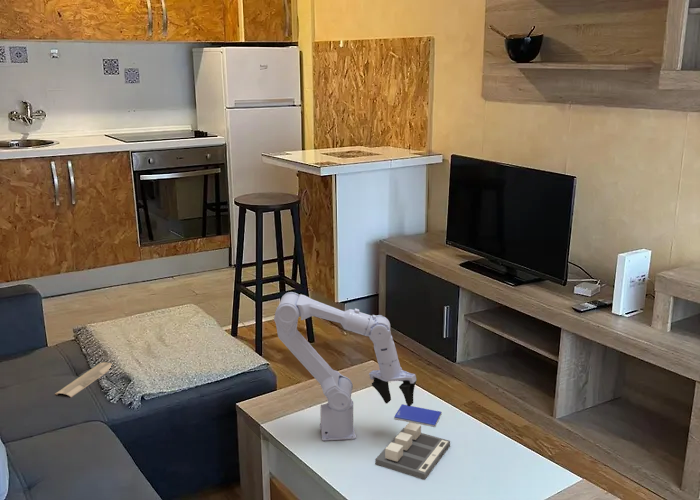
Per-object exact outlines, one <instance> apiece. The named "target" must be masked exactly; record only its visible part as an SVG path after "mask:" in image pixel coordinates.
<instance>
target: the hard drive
mask: <svg viewBox="0 0 700 500" xmlns="http://www.w3.org/2000/svg"><path fill="white" fill-rule="evenodd" d="M441 416H442V411H438V410H434V409H428V408H424V407H418V406H413V405H411V406H407V404H400V406H399V408H398V410H397V411H396V413H395V414H394V416H393V420H395V421H396V420H397V421H401V422H407V423H409V422H411V423H415V424H419V425H421V426H427V427H433V428H436V426H437V424H438V422H439V421H440V418H441Z"/></svg>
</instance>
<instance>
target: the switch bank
mask: <svg viewBox="0 0 700 500" xmlns="http://www.w3.org/2000/svg"><path fill="white" fill-rule="evenodd" d="M404 428H405V427H403V428H402V429H401V430H400V431H399V433H400V432H403V433H404ZM395 438H396V436H395V437H394V438H393V439H392V440H391V441H390V442H389V444H390V443H391V442H392V443H395ZM450 446H451V440H449V439H445V438H441V437H438V436H434V435H431V434H428V433H423V432H421V435H420V436H419V437H418V438H417V439H416V440H413V439H412V445H411V446H410V447H409V449H408V450H407V451H406V450H403V456H402V457H401V458H400V459H399V460H398V462H396V461H393V460H390V459H386V458H385V449H386V447H385V448H384V449H383V450H382V451H381V452H380V453H379V455H377V457H376V458H375V459H374V460H375V461H374V462H375V465H377V466H381V467H384V468H386V469H390V470H393V471H396V472H400V473H403V474H406V475H409V476H412V477H415V478H418V479H422V480H426V479H427V477H429V475H430V474H431V472H432V470H433V469H434V468H435V467H436V465H437V463H438V462H439V461H440V460H441V459H442V457H443V456H444V455H445V453H446V451H447V450H448V449H449V447H450Z"/></svg>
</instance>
